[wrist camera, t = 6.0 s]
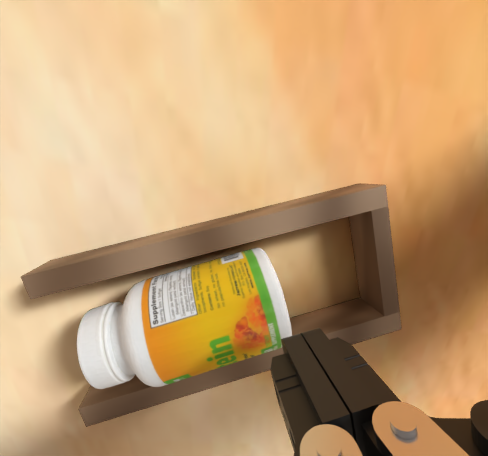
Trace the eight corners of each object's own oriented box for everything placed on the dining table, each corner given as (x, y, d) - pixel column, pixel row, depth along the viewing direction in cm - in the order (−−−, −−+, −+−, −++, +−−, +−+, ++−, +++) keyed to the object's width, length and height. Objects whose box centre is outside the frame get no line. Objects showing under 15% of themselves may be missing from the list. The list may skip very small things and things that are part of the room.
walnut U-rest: (359, 183, 17) (385, 184, 15) (375, 309, 19) (401, 329, 17) (50, 260, 15) (20, 276, 13) (103, 390, 17) (86, 426, 15)
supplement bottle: (294, 358, 15) (118, 417, 14) (264, 279, 19) (123, 322, 18) (295, 314, 11) (53, 391, 10) (257, 226, 15) (77, 277, 14)
